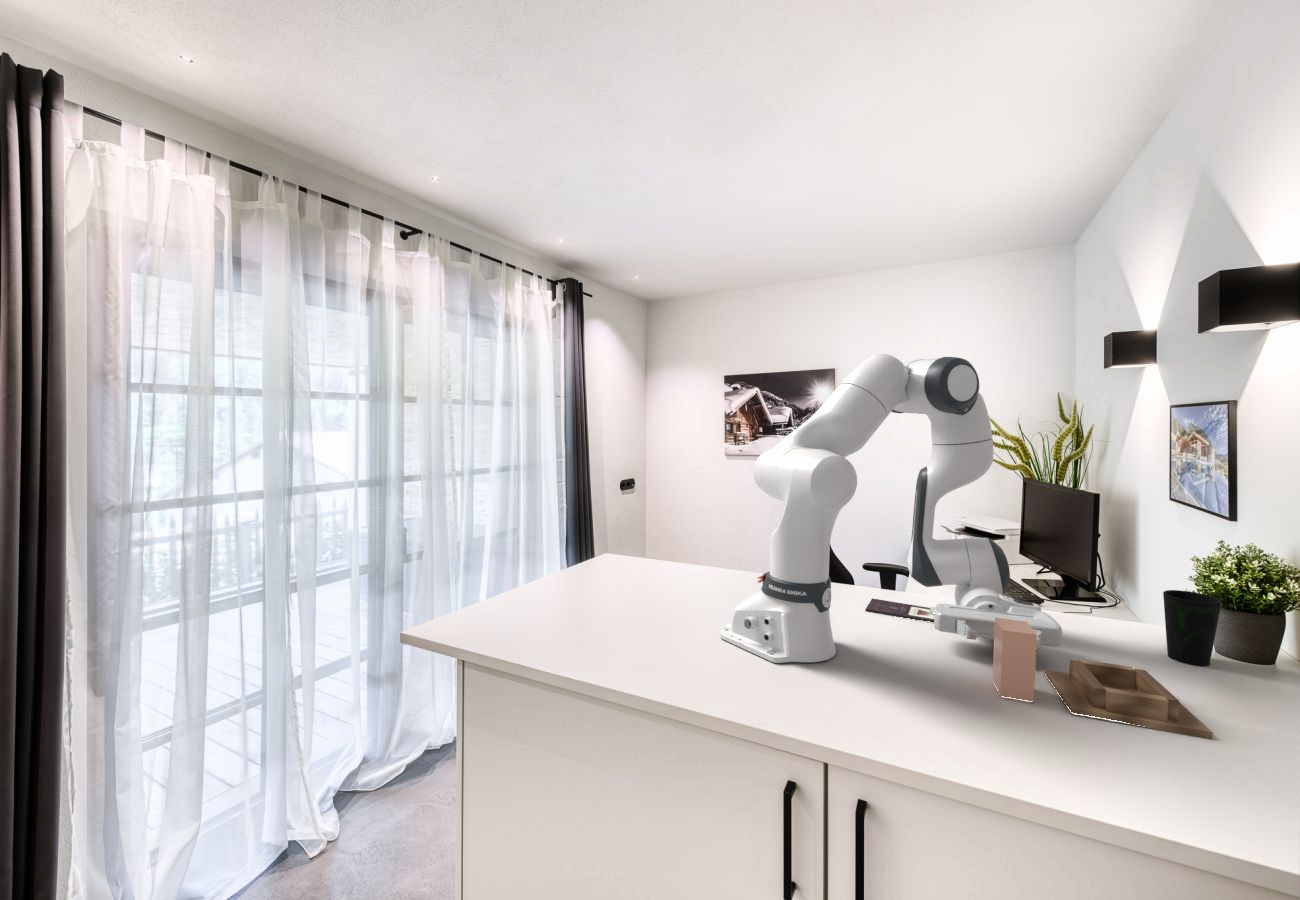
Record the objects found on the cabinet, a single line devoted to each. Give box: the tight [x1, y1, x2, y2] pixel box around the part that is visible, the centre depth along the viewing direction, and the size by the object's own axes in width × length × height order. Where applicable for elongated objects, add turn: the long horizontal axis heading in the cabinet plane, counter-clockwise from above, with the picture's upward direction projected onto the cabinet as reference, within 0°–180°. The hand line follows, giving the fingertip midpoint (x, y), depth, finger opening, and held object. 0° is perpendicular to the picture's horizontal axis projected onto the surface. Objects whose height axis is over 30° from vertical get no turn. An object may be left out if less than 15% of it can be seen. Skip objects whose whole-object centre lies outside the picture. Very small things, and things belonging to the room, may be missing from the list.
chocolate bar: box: [865, 597, 934, 622], centre depth 125 cm, size 9×1×18 cm
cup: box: [1162, 589, 1223, 667], centre depth 100 cm, size 8×8×12 cm
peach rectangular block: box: [992, 618, 1037, 702], centre depth 88 cm, size 4×6×11 cm
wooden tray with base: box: [1044, 659, 1214, 740], centre depth 85 cm, size 16×14×4 cm
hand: (1002, 639), depth 95 cm, fingers open, 8 cm apart
